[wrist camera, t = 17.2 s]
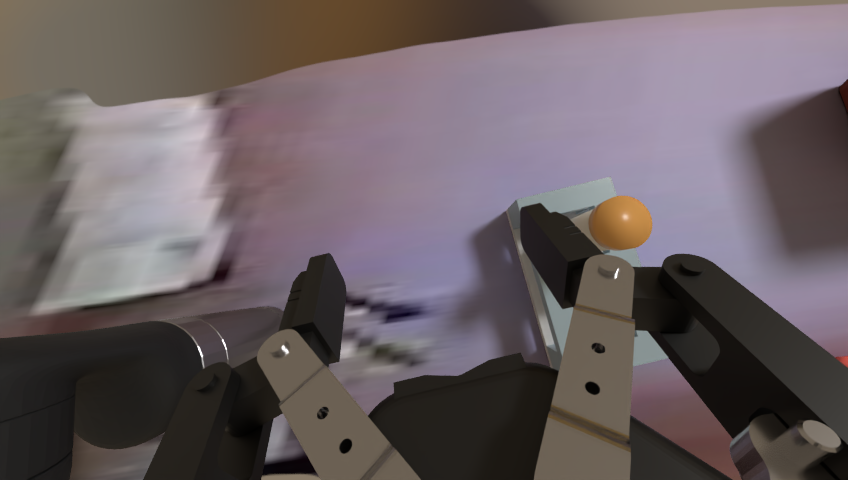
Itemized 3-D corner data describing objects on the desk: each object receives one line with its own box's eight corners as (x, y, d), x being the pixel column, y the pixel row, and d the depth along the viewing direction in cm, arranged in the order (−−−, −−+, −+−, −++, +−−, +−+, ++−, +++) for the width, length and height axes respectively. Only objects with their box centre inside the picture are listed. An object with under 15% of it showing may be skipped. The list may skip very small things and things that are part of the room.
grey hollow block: (638, 346, 40) (672, 357, 35) (550, 367, 41) (569, 381, 35) (587, 191, 44) (610, 176, 38) (505, 210, 44) (516, 199, 38)
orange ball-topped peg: (570, 266, 41) (639, 258, 28) (536, 249, 42) (587, 233, 28) (585, 233, 42) (660, 210, 28) (552, 217, 42) (609, 186, 28)
